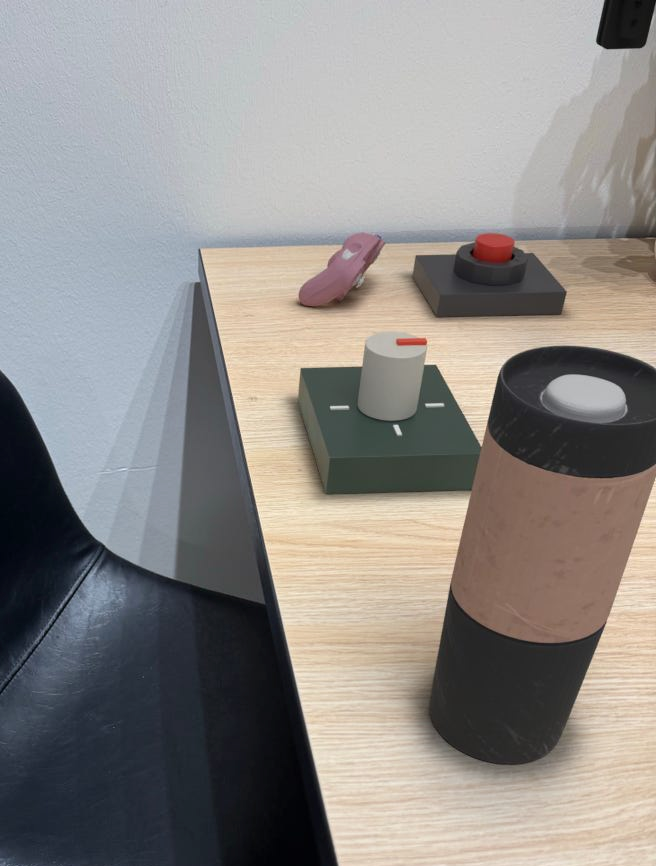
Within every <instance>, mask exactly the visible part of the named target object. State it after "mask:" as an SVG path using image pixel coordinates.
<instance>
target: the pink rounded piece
mask: <svg viewBox="0 0 656 866" xmlns="http://www.w3.org/2000/svg"><path fill="white" fill-rule="evenodd" d="M385 244H386V241H385V240H384V239H383V238H382V236H380V235H379V234H376V232H373V233H370V232H369V231H368V229H367V228H366V229H365V230H364V232H359V233H355V234H353V235H350V236H349V237H347V238H346V239H345V240H344V242H343V244H342V247H341V249H339V250H337V251H335V252H334V253H333V254H332V256H330V258H329V259H328V261H327V267H326V268H325V269H324V270H322V271H321V272H320V273H318V274H316V275H315V276H313V277H311V278H310V279H308V280H307V281H306V282H304V283H303V284H302V286H300V289H299V291H298V300H299V302H300V303H301V304H302V305H304V306H306V307H318V306H322V305H324V304H327V303H329V302H331V301H333V300H334V299H336V300H337V301H339V302H340V303H341V302H342V301H343V300H344V299H345V297H346V296H347V295H348V293H349V292H350V291H353V289H355V287H356V288H359V287H361V286H362V284H363V283H364V282H365V273H366V272H367V270H368V269H369V268H370V266H371V265H373V264H374V263H375V262H376V261H377V259H378V257H379V256H380V254H381V251H382V250H383V248H384V246H385Z"/></svg>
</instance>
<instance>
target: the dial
mask: <svg viewBox="0 0 656 866" xmlns="http://www.w3.org/2000/svg"><path fill="white" fill-rule="evenodd" d="M427 350H428V340H427V338H426V337H419V336H417V335H415V334H411V333H406V332H402V331H382V332H377V333H373V334H372V335H370V336H368V337H367V338H366V339H365V342H364V350H363V358H362V364H361V366H362V372H361V380H360V388H359V396H358V408H359V410H360V411H361V412H362V413H364V414H365V415H367V416H369V417H372V418H375V419H378V420H384V421H398V420H404V419H407V418H410V417H411V416H413V415H414V414H415V413H416V411H417V405H418V399H419V393H420V387H421V381H422V375H423V369H424V365H425V363H426V357H427Z"/></svg>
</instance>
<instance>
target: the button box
mask: <svg viewBox="0 0 656 866" xmlns="http://www.w3.org/2000/svg"><path fill="white" fill-rule="evenodd" d="M474 245H475V241H474V242H471V243H466V244H463V245H461V246H460V247H459V248H458V250H457V251H455V254H415V256H414V263H413V270H412V278H413V280H414V282H415V284H416V285H417V287H418V288H419V290H420V292H421V294H422V295H423V297H424V298H425V300H426V301H427V303H428V305H429V307H430V308H431V310H432V312H433V313H434V315H435V317H437V318H445V317H446V318H447V317H449V318H450V317H491V316H492V317H493V316H496V317H497V316H536V315H562V313H563V309H564V305H565V301H566V297H567V293H568V290H566V289H565V288H564V286H563V285H562V284H561V283H560V282H559V281H558V279H557V278H556V277H555V276H554V275H553V274H552V273H551V272H550V270H549V269H548V268H547V267H546V265H545V264H543V262H542V261H541V260H540V259H539V257H538V256H537V255H536V254H535V253H534V252H525V251H524V250H523V249H521V248H518V247H515V246H514V248H513V252H512V257H511V260H510V261H506V262H487V261H482V260H479V259H477V258H474V257H473V250H474Z"/></svg>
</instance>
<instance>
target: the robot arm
mask: <svg viewBox="0 0 656 866" xmlns="http://www.w3.org/2000/svg"><path fill="white" fill-rule="evenodd" d="M655 8H656V0H603V5H602V10H601V13H600V14H601V15H600V19H599V24H598V28H597V34H596V38H595V42H596V45H598V46H599V47H601V48H603V49H605V50H632V49H633V50H634V49H643V48H644V47H645V46H646V45H647V42H648V37H649V33H650V31H651V30H650V29H651V25H652V22H653V17H654V13H655Z"/></svg>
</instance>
